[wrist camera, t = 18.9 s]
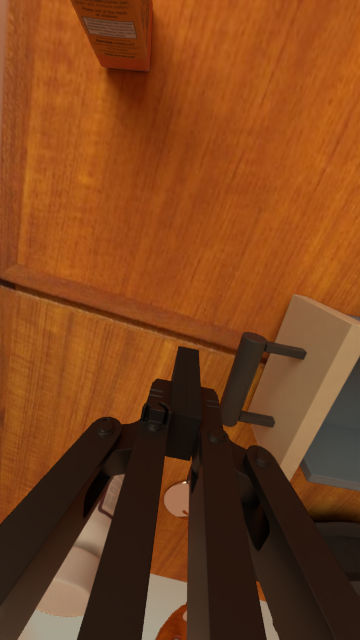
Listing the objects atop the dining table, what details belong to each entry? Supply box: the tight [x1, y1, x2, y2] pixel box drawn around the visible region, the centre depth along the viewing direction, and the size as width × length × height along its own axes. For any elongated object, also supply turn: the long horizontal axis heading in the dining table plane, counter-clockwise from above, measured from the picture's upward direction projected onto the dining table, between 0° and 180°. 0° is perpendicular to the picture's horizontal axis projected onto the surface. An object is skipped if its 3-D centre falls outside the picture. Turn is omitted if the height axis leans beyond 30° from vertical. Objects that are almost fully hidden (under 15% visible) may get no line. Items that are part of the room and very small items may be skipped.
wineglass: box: [155, 481, 189, 640], centre depth 18 cm, size 8×8×20 cm
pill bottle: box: [36, 474, 125, 617], centre depth 20 cm, size 6×6×11 cm
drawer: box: [219, 294, 360, 491], centre depth 16 cm, size 19×12×7 cm, turn 79°
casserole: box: [252, 521, 360, 632], centre depth 26 cm, size 25×19×8 cm
